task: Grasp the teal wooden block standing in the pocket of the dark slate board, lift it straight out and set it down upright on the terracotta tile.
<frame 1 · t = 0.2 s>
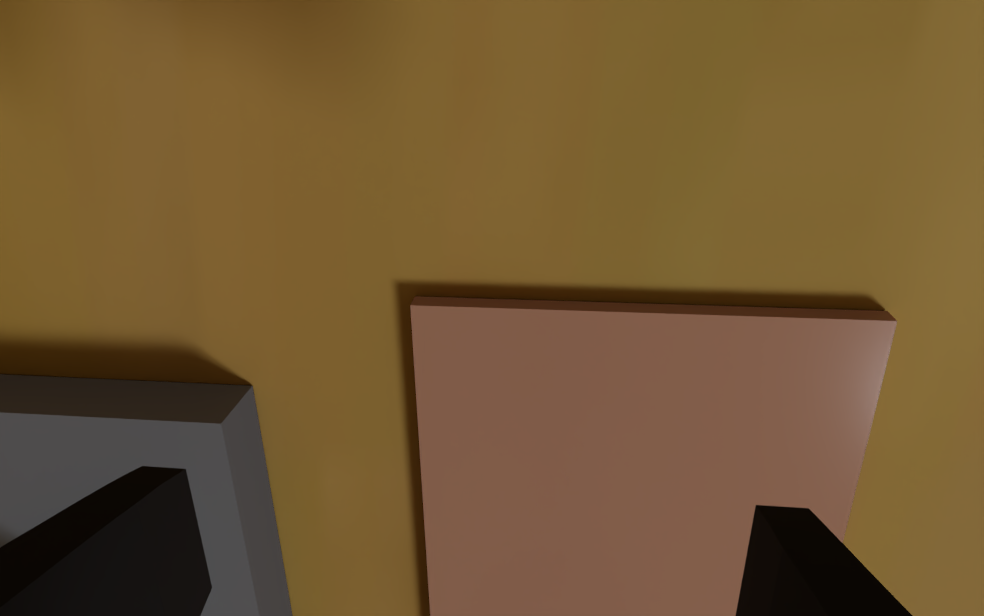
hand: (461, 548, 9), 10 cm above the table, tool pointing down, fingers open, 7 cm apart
pocket board: (101, 597, 25), on the table
terracotta tile: (623, 543, 21), on the table
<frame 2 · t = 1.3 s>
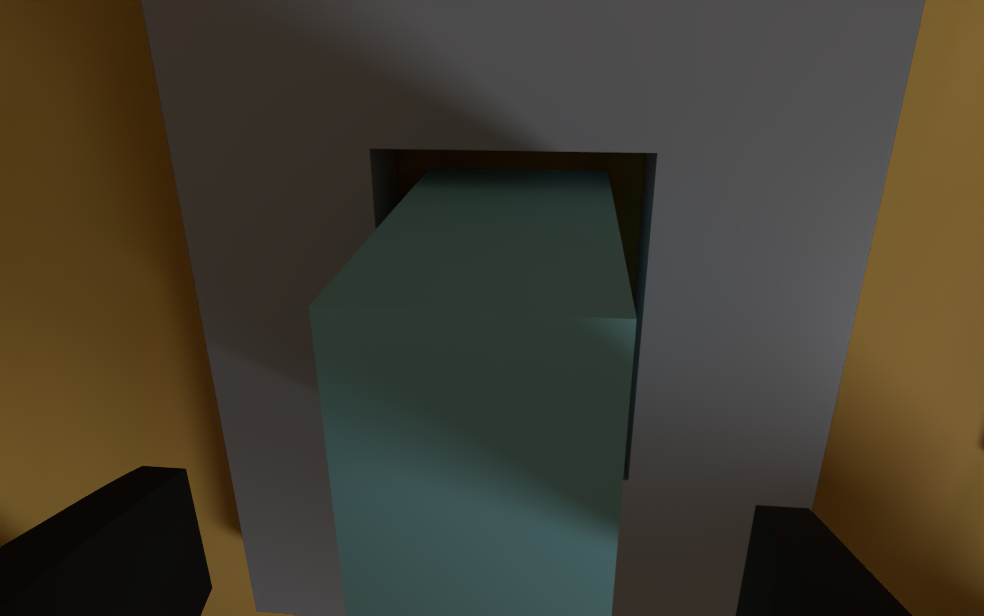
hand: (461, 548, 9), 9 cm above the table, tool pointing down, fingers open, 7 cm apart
pocket board: (516, 293, 17), on the table
teal block: (500, 371, 13), in the pocket board
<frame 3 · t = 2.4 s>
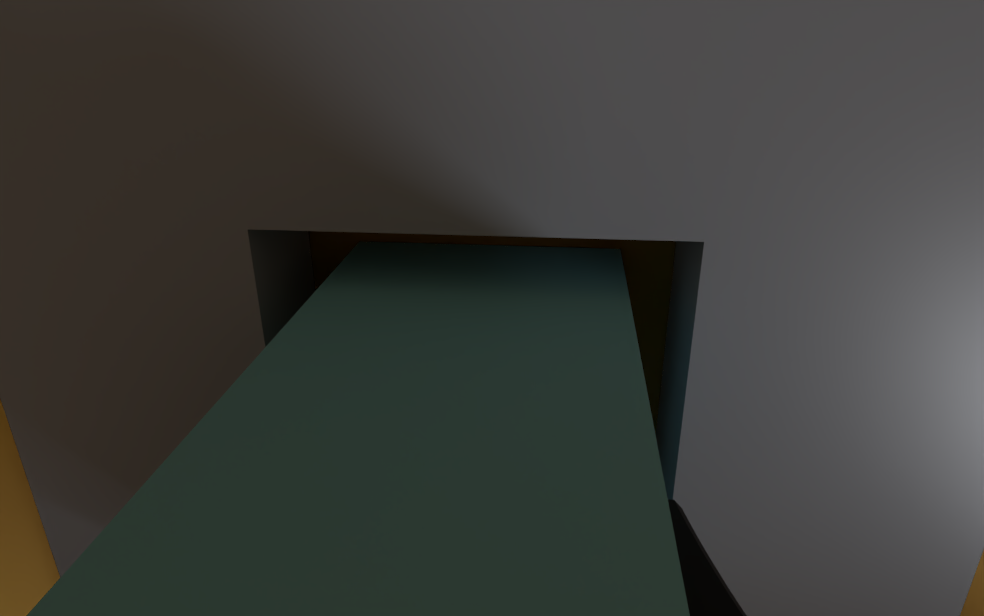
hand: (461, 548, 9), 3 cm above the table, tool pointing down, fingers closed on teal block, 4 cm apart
pocket board: (488, 413, 12), on the table
teal block: (451, 596, 8), in the pocket board, touching gripper
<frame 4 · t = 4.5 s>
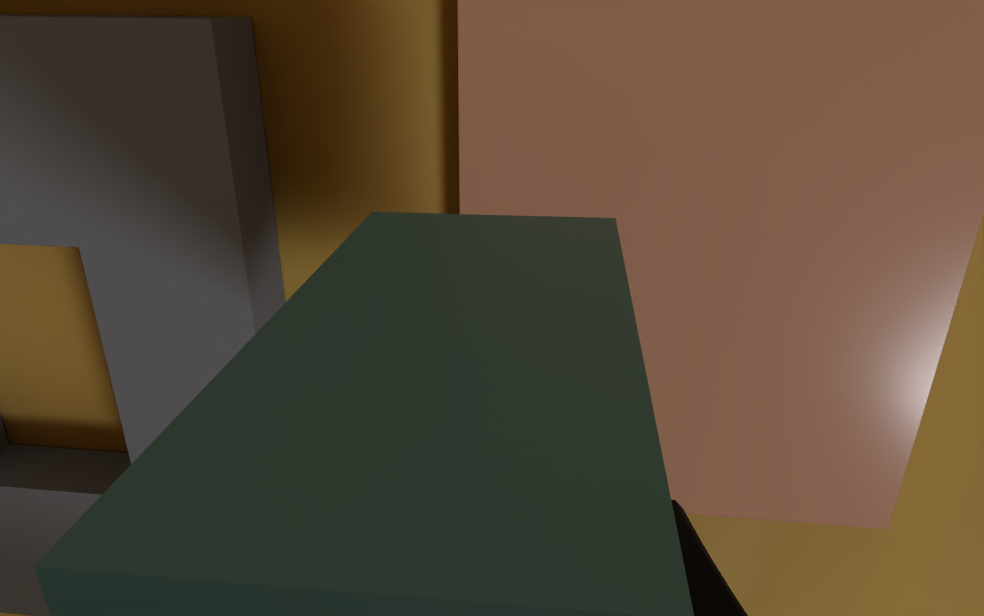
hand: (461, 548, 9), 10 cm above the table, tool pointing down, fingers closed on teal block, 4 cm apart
pocket board: (62, 343, 21), on the table
teal block: (460, 527, 9), point 10 cm above the table, touching gripper
terracotta tile: (702, 240, 17), on the table
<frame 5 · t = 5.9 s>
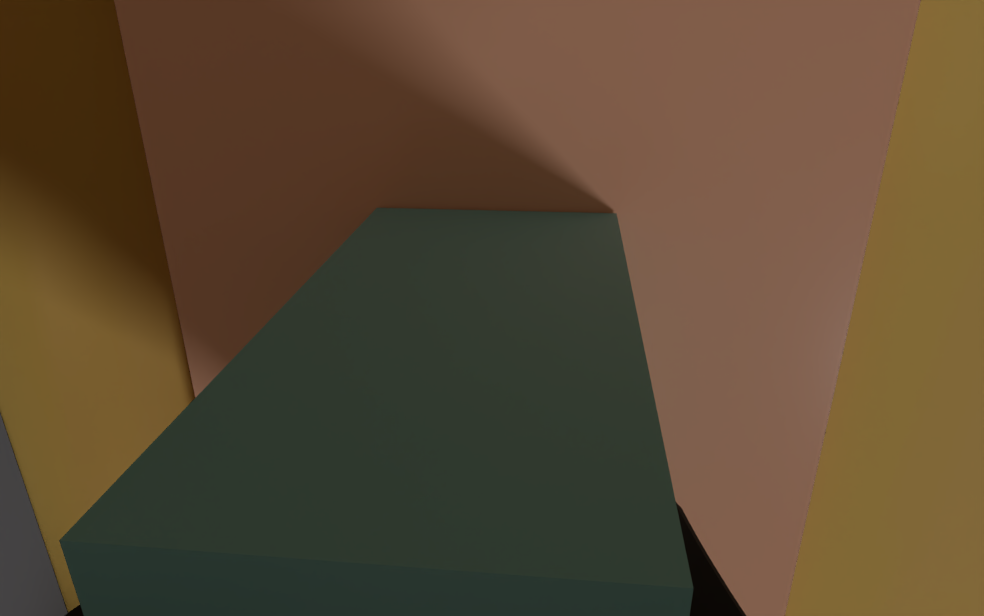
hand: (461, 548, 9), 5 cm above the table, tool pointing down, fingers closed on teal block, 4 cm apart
teal block: (464, 515, 9), point 5 cm above the table, touching gripper
terracotta tile: (499, 363, 13), on the table
when the fingers open (5 cm above the table, at t = 6.7 s): teal block stays where it is, resting on terracotta tile.
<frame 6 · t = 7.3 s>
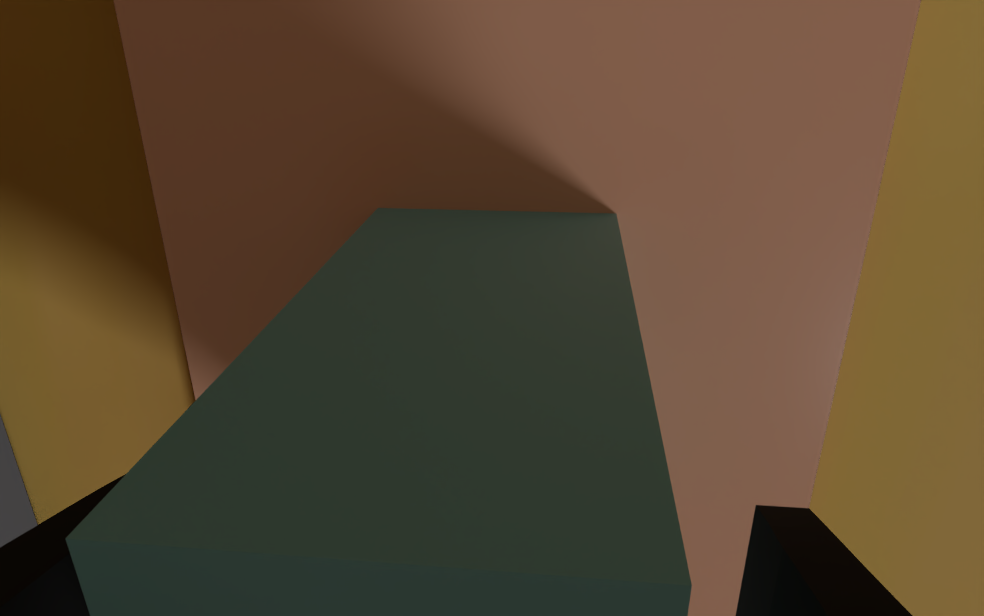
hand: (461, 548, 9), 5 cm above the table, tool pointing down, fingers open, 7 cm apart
teal block: (465, 514, 9), on the terracotta tile, point 5 cm above the table
terracotta tile: (499, 363, 13), on the table
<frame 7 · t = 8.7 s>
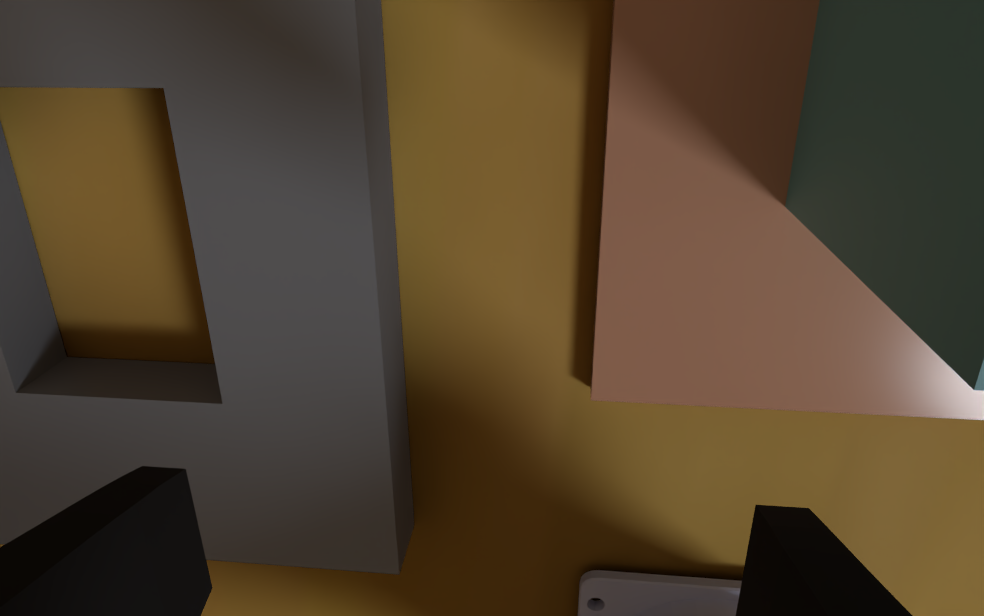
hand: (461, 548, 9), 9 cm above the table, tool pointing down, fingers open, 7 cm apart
pocket board: (130, 231, 18), on the table
terracotta tile: (897, 71, 15), on the table
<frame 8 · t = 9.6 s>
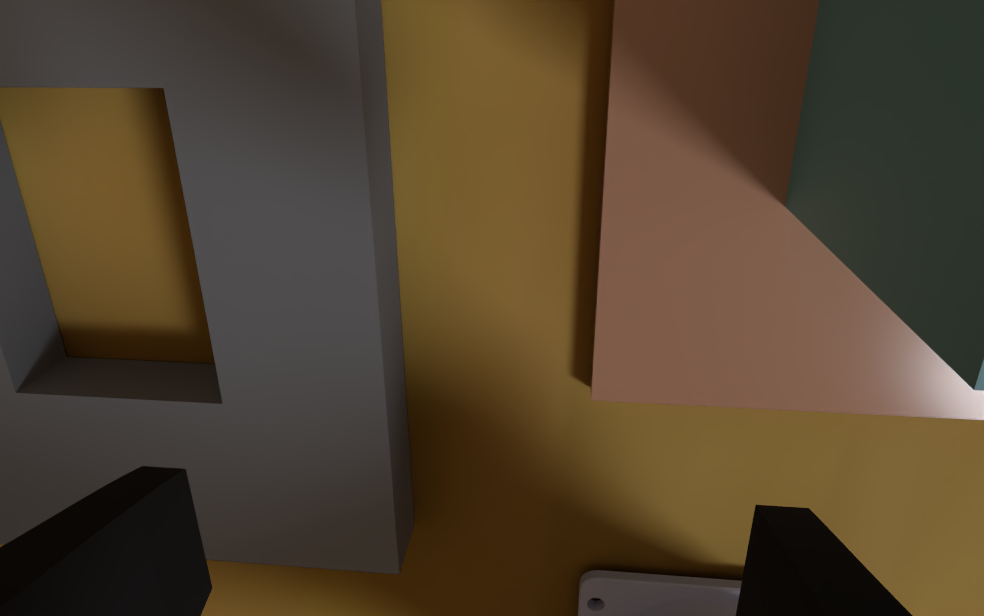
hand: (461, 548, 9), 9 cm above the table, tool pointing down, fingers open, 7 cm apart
pocket board: (130, 231, 18), on the table
terracotta tile: (897, 71, 15), on the table
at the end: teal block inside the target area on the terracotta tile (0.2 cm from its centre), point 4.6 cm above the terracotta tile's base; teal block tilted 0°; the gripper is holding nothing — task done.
